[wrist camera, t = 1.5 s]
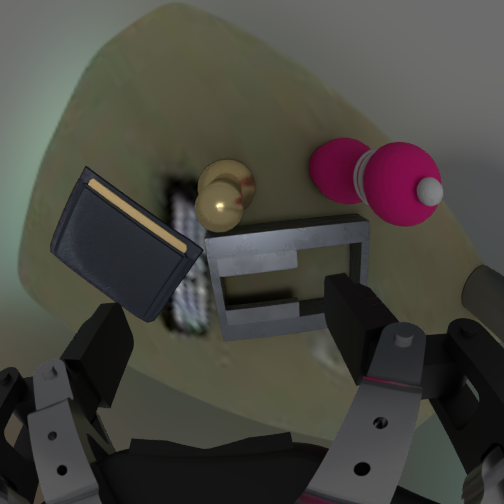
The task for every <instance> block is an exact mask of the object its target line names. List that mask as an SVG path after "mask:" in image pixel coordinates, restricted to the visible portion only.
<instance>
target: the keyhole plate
mask: <svg viewBox="0 0 504 504" xmlns="http://www.w3.org/2000/svg"><path fill="white" fill-rule="evenodd" d="M204 241H205V246H206V252H207V258H208V264H209V269H210V275H211V280H212V286H213V291H214V296H215V301H216V306H217V311H218V316H219V321H220V326H221V331H222V336H223V341H234V340H244V339H253V338H262V337H270V336H278V335H285V334H292V333H299V332H306V331H312V330H318V329H324V328H328V327H327V324H326V321H325V314H324V298H318V299H311V300H304V301H298V298H297V297H296V298H288V299H281V300H273V301H265V302H257V303H248V304H239V305H230V306H228V301H227V295H226V289H225V283H224V277H225V276H234V275H243V274H251V273H260V272H268V271H276V270H284V269H292V268H298V266H297V250H300V249H309V248H317V247H325V246H334V245H342V244H350V274H349V278H350V279H351V280H352V281H353V283H354V284H357V283H360V284H362V285H364V286H366V287H367V274H368V256H369V220H367V219H365V218H364V217H362V216H360V215H358V214H348V215H338V216H327V217H317V218H307V219H297V220H288V221H278V222H269V223H261V224H252V225H243V226H235V227H234V228H232V229H230V230H228V231H225V232H213V231H210V230H208V231H207V233H206V236H205V239H204Z"/></svg>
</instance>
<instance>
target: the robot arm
mask: <svg viewBox="0 0 504 504" xmlns="http://www.w3.org/2000/svg"><path fill="white" fill-rule="evenodd" d="M462 303H463V305H464V307H465V308H466V309H468V310H469V311H470V312H471V313H472V314H473V315H474V316H475V317H476V318H477V319H479V320H480V321H481V322H482V323H483V324H484V325H485V326H486V327H487V328H488V329H490V330H491V331H492V332H493V333H494V334H495V335H496V336H497V337H498V338H499V339H500V340H501V341H502V342H503V343H504V276H503V275H501V274H500V273H498V272H496V271H495V270H493V269H491V268H489V267H488V266H485V265H483V266H480V267H478V268H477V269H476V270H475V271H474V272H473V273H472V274H471V276H470V277H469V279H468V280H467V282H466V285H465V287H464V290H463V294H462ZM324 314H325V321H326V324H327V327H328V329H329V331H330V333H331V335H332V337H333V339H334V341H335V343H336V345H337V347H338V349H339V351H340V353H341V355H342V357H343V359H344V361H345V363H346V365H347V367H348V369H349V371H350V373H351V375H352V378H353V380H354V382H355V384H356V386H358V385H359V388H358V390H357V393H356V395H355V397H354V399H353V402H352V404H351V406H350V408H349V411H348V413H347V415H346V417H345V419H344V421H343V423H342V425H341V427H340V429H339V431H338V433H337V435H336V437H335V439H334V441H333V443H332V445H331V447H330V449H328V448H325V447H322V446H318V445H314V444H308V443H298V442H292V438H291V433H290V432H286V433H280V434H274V435H266V436H259V437H250V438H246V439H243V440H239V441H236V442H232V443H229V444H225V445H222V446H218V447H214V448H210V449H201V448H196V447H191V446H187V445H182V444H178V443H174V442H170V441H164V440H163V441H162V440H145V439H131V443H130V448H129V449H126V450H122V451H118V452H117V451H116V450H115V448H114V446H113V444H112V442H111V440H110V438H109V436H108V433H107V431H106V429H105V427H104V425H103V423H102V421H101V418H100V416H99V414H98V413H97V412H96V411H97V408H98V407H103V408H111V405H112V402H113V399H114V397H115V394H116V391H117V388H118V386H119V383H120V380H121V378H122V375H123V373H124V370H125V368H126V365H127V363H128V360H129V358H130V355H131V353H132V350H133V347H134V339H133V335H132V332H131V330H130V327H129V325H128V322H127V320H126V317H125V314H124V312H123V309H122V307H121V305H120V304H119V303H105V304H101V305H100V306H99V307H98V308H97V310H96V311H95V313H94V314H93V315H92V317H91V318H89V319H88V320H87V321H86V322H84V323H83V325H82V326H81V327H80V329H79V330H78V333H76V335H75V336H74V339H73V340H72V341H71V342H70V344H69V345H68V347H67V348H66V350H65V351H64V353H63V354H62V356H61V357H60V359H52V360H48V361H46V362H44V363H42V364H41V365H40V366H39V367H38V368H37V369H36V371H35V372H34V375H33V377H27V378H22V376H21V375H20V373H19V372H18V370H17V369H16V368H14V367H9V368H6V369H4V370H2V371H1V372H0V504H33V503H34V499H35V494H36V491H37V487H38V483H39V482H40V485H41V489H42V492H43V495H44V499H45V501H44V502H43V503H41V504H440V503H437V502H435V501H432V500H430V499H427V498H425V497H423V496H420V495H418V494H415V493H413V492H411V491H409V490H407V489H405V488H403V487H400V486H398V485H397V484H398V482H399V479H400V476H401V473H402V470H403V467H404V464H405V461H406V458H407V454H408V451H409V448H410V444H411V441H412V437H413V433H414V429H415V425H416V421H417V417H418V412H419V407H420V402H421V400H422V399H429V401H430V403H431V405H432V406H433V408H434V410H435V412H436V414H437V415H438V417H439V419H440V421H441V423H442V425H443V427H444V429H445V431H446V432H447V434H448V436H449V438H450V440H451V442H452V444H453V446H454V448H455V450H456V452H457V454H458V457H459V459H460V461H461V463H462V465H463V467H464V469H465V471H466V474H467V477H466V478H465V481H464V483H463V488H462V492H463V493H462V496H461V499H462V501H463V503H464V504H504V348H503V347H502V346H501V345H500V344H499V343H498V342H497V341H496V340H495V339H494V338H493V337H492V336H491V335H490V333H489V332H488V331H487V330H486V329H485V328H484V327H483V326H482V325H481V324H479V323H478V322H476V321H474V320H471V319H467V318H459V319H456V320H453V321H452V322H451V323H450V324H449V327H448V330H447V333H446V334H435V335H425V333H424V331H423V330H422V329H421V328H420V327H418V326H417V325H415V324H412V323H408V322H399V321H398V320H397V318H396V317H395V316H394V315H393V314H392V313H391V311H390V310H389V309H388V308H387V307H386V306H385V305H384V303H382V301H381V300H380V299H379V298H378V297H377V296H376V294H375V293H374V292H373V291H372V290H371V289H370V288H368V287H366V286H364V285H362V284H360V283H357V284H354V283H353V281H352V280H351V279H350V278H349V277H348V276H347V274H346V273H341V274H335V275H329V276H326V277H325V281H324ZM467 379H469V381H470V382H471V383H472V385H473V386H474V388H475V389H476V390H477V392H478V394H479V402H478V400H477V399H476V397H475V395H474V394H473V392H472V391H471V390H470V388H469V387H468V385H467V384H466V381H467ZM12 413H14V415H15V416H16V417H17V418H18V420H19V421H20V422H21V423H22V424H23V426H22V429H21V431H20V433H19V436H18V438H17V440H16V443H15V445H14V448H13V447H12V446H11V445H10V444H9V443H8V442H7V441H6V439H5V436H4V429H5V427H6V425H7V423H8V420H9V419H10V417H11V414H12Z"/></svg>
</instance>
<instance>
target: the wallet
mask: <svg viewBox="0 0 504 504" xmlns="http://www.w3.org/2000/svg"><path fill="white" fill-rule="evenodd" d="M50 248H51V253H53V254H54V255H55V256H56V257H57V258H58V259H59V260H60V261H62V262H63V263H64V264H65V265H67V266H68V267H69V268H70V269H72V270H73V271H74V272H76V273H77V274H78V275H80V276H81V277H82V278H84V279H85V280H86V281H88V282H89V283H90V284H92V285H93V286H94V287H96V288H97V289H99V290H100V291H101V292H103V293H104V294H105V295H107V296H108V297H109V298H111V299H112V300H114V301H115V302H116V303H119V304H120V305H121V306H122V307H124V308H125V309H126V310H128V311H129V312H131V313H132V314H133V315H135V316H136V317H138V318H140V319H142V320H143V321H145V322H147V323H148V322H151V321H154V320H155V319H156V317H157V316H158V315H159V314H160V312H161V311H162V309H163V308H164V306H165V305H166V303H167V302H168V300H169V299H170V297H171V295H172V294H173V292H174V291H175V290H176V288H177V287H178V285H179V284H180V283H181V281H182V280H183V278H184V277H185V276H186V274H187V273H188V272H189V270H190V269H191V267H192V266H193V264H194V263H195V261H196V260H197V259H198V257H199V256H200V254H201V253H202V252H203V249H202V248H201V247H199V246H198V245H197V244H195V243H194V242H193V241H191V240H190V239H188V238H187V237H185V236H184V235H182V234H181V233H179V232H178V231H176V230H174V229H173V228H172V227H170V226H169V225H167V224H166V223H164V222H163V221H162V220H160V219H159V218H157V217H156V216H154V215H153V214H152V213H150V212H149V211H147V210H146V209H145V208H143V207H142V206H140V205H139V204H138V203H136V202H135V201H133V200H132V199H131V198H129V197H128V196H126V195H125V194H124V193H122V192H121V191H120V190H118V189H117V188H115V187H114V186H113V185H111V184H110V183H109V182H107V181H106V180H104V179H103V178H102V177H100V176H99V175H98V174H96V173H95V172H94V171H92V170H91V169H90V168H88V167H87V166H85V168H84V170H83V172H82V174H81V176H80V178H79V179H78V181H77V183H76V185H75V186H74V188H73V190H72V193H71V195H70V197H69V199H68V201H67V203H66V206H65V208H64V210H63V213H62V215H61V217H60V220H59V222H58V225H57V227H56V230H55V232H54V235H53V238H52V241H51V244H50Z"/></svg>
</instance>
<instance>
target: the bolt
mask: <svg viewBox="0 0 504 504" xmlns="http://www.w3.org/2000/svg"><path fill="white" fill-rule="evenodd" d="M254 193H255V182H254V178H253V176H252V174H251V172H250V171H249V169H248V168H247V167H246V166H245V165H243V164H242V163H240V162H238V161H235V160H231V159H224V160H219V161H216V162H214V163H212V164H210V165H209V166H208V167H207V168H206V169H205V170H204V171H203V172H202V174H201V176H200V178H199V182H198V194H199V196H198V197H197V199H196V202H195V214H196V217H197V219H198V221H199V222H200V224H201V225H202V226H203V227H205V228H206V229H208V230H210V231H213V232H225V231H228V230H230V229H232V228H234V227H235V226H236V225H237V224H238V223H239V221H240V219H241V217H242V214H243V210H244V209H246V208H247V207H248V206H249V204H250V203H251V201H252V199H253V197H254Z"/></svg>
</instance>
